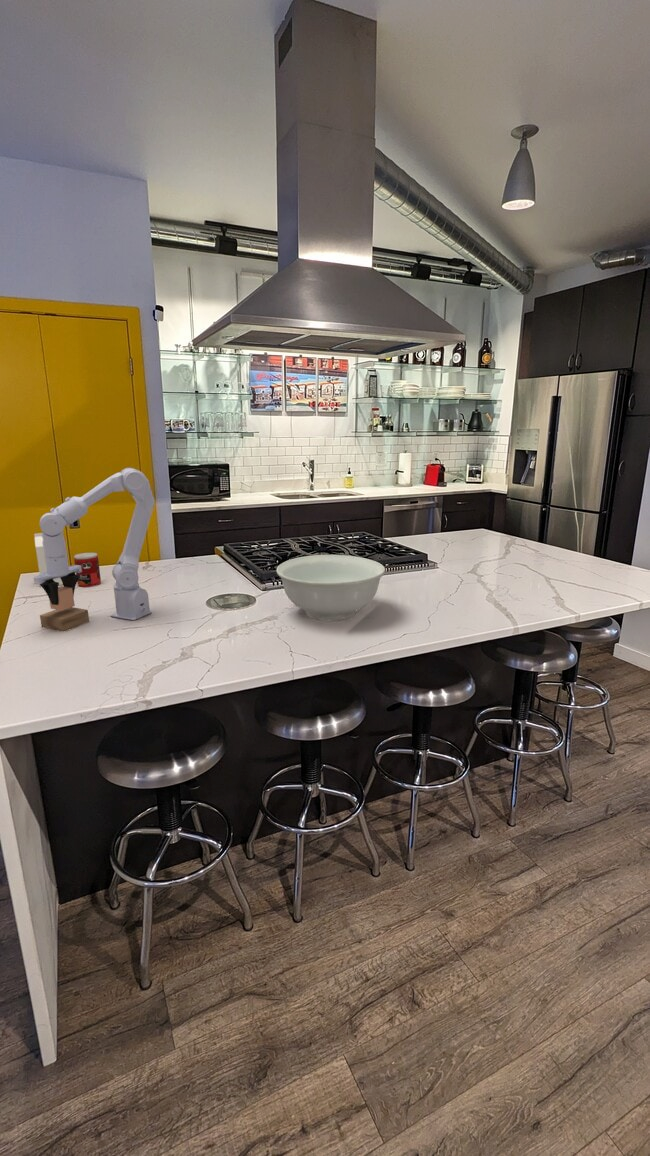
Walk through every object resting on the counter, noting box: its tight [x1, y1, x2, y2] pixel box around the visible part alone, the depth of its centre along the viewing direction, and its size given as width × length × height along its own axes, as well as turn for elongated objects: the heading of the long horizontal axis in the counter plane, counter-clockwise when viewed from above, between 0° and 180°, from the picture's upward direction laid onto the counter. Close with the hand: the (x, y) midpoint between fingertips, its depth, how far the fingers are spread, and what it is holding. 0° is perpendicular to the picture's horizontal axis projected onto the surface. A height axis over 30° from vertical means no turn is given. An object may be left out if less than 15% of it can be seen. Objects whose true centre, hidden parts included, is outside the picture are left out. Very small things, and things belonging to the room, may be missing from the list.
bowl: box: [276, 554, 386, 621], centre depth 167 cm, size 32×32×15 cm
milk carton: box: [33, 532, 63, 586], centre depth 200 cm, size 7×7×19 cm
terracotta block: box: [48, 585, 75, 611], centre depth 159 cm, size 4×4×6 cm
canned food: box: [73, 552, 102, 588], centre depth 200 cm, size 8×8×11 cm
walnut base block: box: [39, 606, 90, 633], centre depth 160 cm, size 9×9×4 cm
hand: (62, 601), depth 159 cm, fingers closed on terracotta block, 4 cm apart
